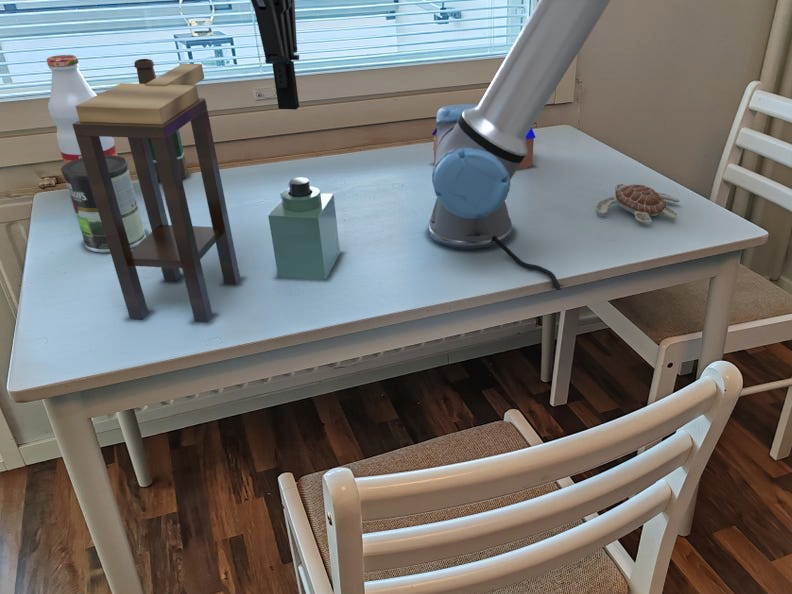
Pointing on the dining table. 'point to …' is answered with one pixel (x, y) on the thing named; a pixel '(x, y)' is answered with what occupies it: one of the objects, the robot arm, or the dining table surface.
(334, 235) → the soap bottle
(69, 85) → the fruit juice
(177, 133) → the beer bottle
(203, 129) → the plant stand
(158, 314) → the dining table surface
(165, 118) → the cutting board
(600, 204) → the decorative turtle
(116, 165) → the coffee can
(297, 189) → the black bottle cap
